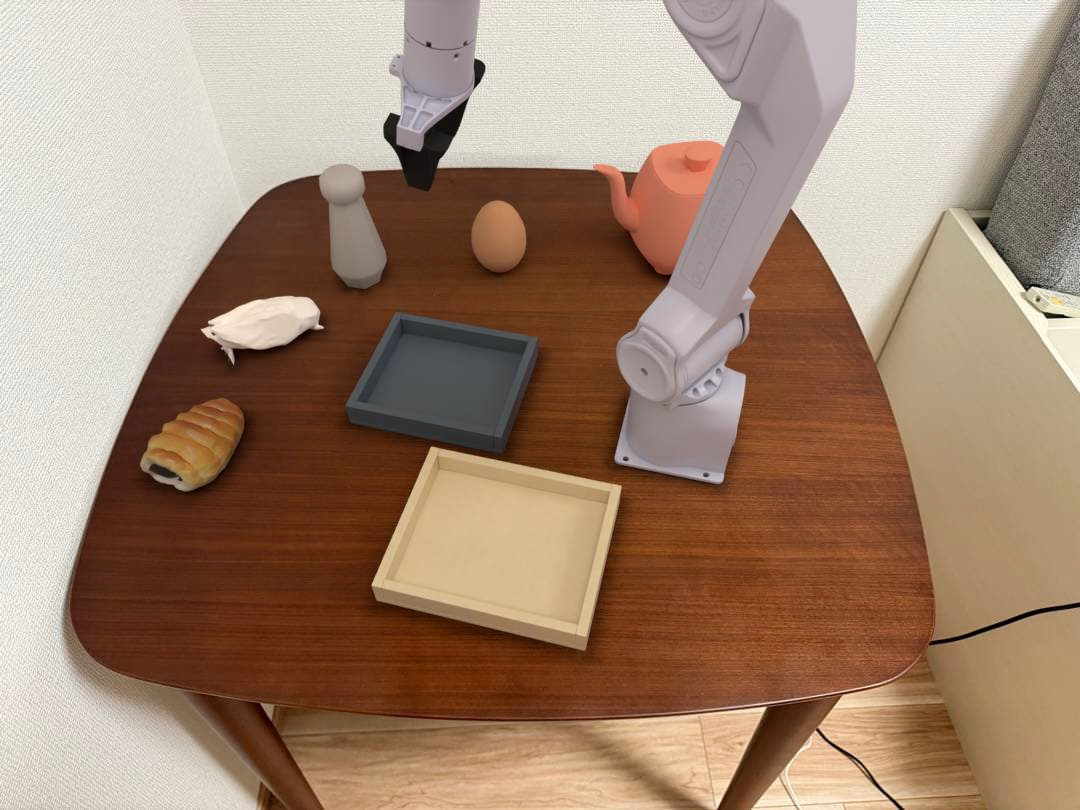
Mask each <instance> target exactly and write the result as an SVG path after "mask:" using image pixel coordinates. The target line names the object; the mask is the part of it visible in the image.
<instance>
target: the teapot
mask: <svg viewBox="0 0 1080 810" xmlns="http://www.w3.org/2000/svg"><path fill="white" fill-rule="evenodd" d="M724 147H725V146H724V145H722V144H720V143H719V142H716V141H713V140H691V141H689V140H688V141H681V142H671V143H666V144H662V145H658V146H656V147H654V148H653V149H652V150H651V151H650V153H649V154H648V155H647V157H646V159H645V160H644V162H643V164H642V166H641V167H640V168H639V171H638V173H637V174H636V176H635V179H634V181H633V184H632V187H631V190H630V194H629V196H628V194H627V190H626V182H625V177H624V175H623V173H622V172H621V170H620V169H618V168H617V167H615V166H613V165H610V164H605V163H596V164H593V165H592V168H593V169H594V170H595V171H597V172H599V174H602V176H604V177H605V178H606V179H607V181H608V183H609V188H610V200H611V201H610V202H611V208H612V212H613V215H614V217H615V219H616V221H617V222H618V224H620V226H622V227H623V228H624V229H625V230H627V231H629V233H630V236H631V238H632V240H633V242H634V244H635V246H636V247H637V249H638V250H639V252H640V253H641V255H642V257H644V258H645V260H646V261H647V262H648V264H650V265H651V266H652V267H653V269H654V271H655V272H656V273H658V274H660V275H664V276H669V275H672V273H673V271H674V268H675V266H676V264H677V261H678V259H679V256H680V254H681V251H682V249H683V246H684V244H685V242H686V239H687V237H688V234H689V232H690V229H691V227H692V225H693V222H694V220H695V217H696V215H697V212H698V210H699V207H700V205H701V203H702V200H703V198H704V195H705V193H706V190H707V188H708V186H709V183H710V181H711V178H712V176H713V173H714V171H715V169H716V166H717V164H718V161H719V159H720V156H721V154H722V151H723V149H724Z"/></svg>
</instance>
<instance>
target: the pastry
mask: <svg viewBox="0 0 1080 810" xmlns="http://www.w3.org/2000/svg"><path fill="white" fill-rule="evenodd" d="M244 431H245V417H244V412H243V411H242V410H241V409H240V407H239V406H238V405H237V404H235V403H233V402H231V401H230V400H229V399H228V398H225V397H220V398H216V399H211V400H208V401H205V402H204V403H203V402H202V403H201V404H196V405H193V406H192V407H191V408H190V410H188V411H187V412H180V413H179V414H178V415H177V417H176V418H175V419H173V420H171V421H169V422H166V423H164V424H163V426H162V428H161V432H160V433H158V434H157V433H156V434H154V435H152V436H151V437H150V439H149V440H148V442H147V449H146V451H145V452H144V453H143V455H142V457H141V460H140V463H139V466H140V468H141V471H142V472H144V473H146V474H149V475H150V476H151V477H152V478H153V479H154V480H155V481H157V482H158V483H161V484H166V485H171V486H172V485H173V486H174V488H175V489H177V490H179V491H183V492H191V491H194V490H197V489H199V488H201V487H204V486H206V485H208V484H210V483H212V482H213V481H215V480H216V479H217V478H218V476H219V475H220V473H221V472H222V471H223V470H225V469H226V467H227V465H228V464H229V462H230V461H231V458H232V456H233V455H234V453H235V450H236V449H237V446H238V445H239V443H240V440H241V439H242V436H243V433H244Z"/></svg>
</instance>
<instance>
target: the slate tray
mask: <svg viewBox="0 0 1080 810" xmlns="http://www.w3.org/2000/svg"><path fill="white" fill-rule="evenodd" d="M538 358H539V337H537V336H532V335H527V334H521V333H516V332H511V331H504V330H498V329H494V328H489V327H484V326H483V327H482V326H476V325H472V324H465V323H461V322H454V321H448V320H443V319H438V318H433V317H426V316H420V315H416V314H409V313H403V312H398V311H395V312H394V314H393V316H392V318H391V320H390V322H389V324H388V325H387V327H386V329H385V331H384V333H383V335H382V336H381V339H380V340H379V343H378V344H377V346H376V348H375V349H374V351H373V353H372V355H371V357H370V359H369V361H368V362H367V364H366V367H364V370H363V372H362V374H361V376H360V377H359V379H358V381H357V383H356V385H355V387H354V389H353V391H352V392H351V395H350V396H349V398H348V399H347V402H346V403H345V411H346V414H347V416H348V420H349V423H350V424H353V425H356V426H357V425H358V426H362V427H367V428H371V429H377V430H382V431H387V432H391V433H397V434H400V435H407V436H412V437H415V438H420V439H427V440H430V441H436V442H440V443H446V444H450V445H455V446H460V447H464V448H470V449H474V450H479V451H484V452H489V453H493V454H499V455H503V454H504V452H505V450H506V447H507V444H508V441H509V438H510V436H511V433H512V430H513V427H514V424H515V422H516V419H517V416H518V413H519V410H520V408H521V404H522V402H523V399H524V396H525V395H526V394H525V393H526V392H527V391H526V390H527V387H528V385H529V383H530V379H531V376H532V374H533V371H534V369H535V367H536V363H537V360H538Z"/></svg>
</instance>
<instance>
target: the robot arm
mask: <svg viewBox="0 0 1080 810" xmlns="http://www.w3.org/2000/svg"><path fill="white" fill-rule="evenodd" d="M662 3H663V5H664V8H665V11H666V12H667V14H668V15H669V17H670V19H671V21H672V22H673V24H674V25H675V27H676V28H677V30H678V31H679V32H680V34H681V35H682V36H683V38H684V39H685V40H686V42H687V43H688V45H689V46H690V47H691V49H692V50H693V51H694V53H695V54H696V55H697V56H698V58H699V59H700V61H701V62H702V63H703V65H704V66H705V67H706V69H707V70H708V71H709V72H710V74H711V75H712V76H713V78H714V79H715V80H716V82H717V83H718V84H719V86H720V87H721V89H722V90H723V91H724V92H725V94H726V96H727V97H728V98H729V99H730V100H732V101H737V102H740V107H739V110H738V112H737V115H736V117H735V119H734V122H733V125H732V128H731V129H730V132H729V134H728V137H727V140H726V142H725V144H724V146H723V147H724V149H723V151H722V154H721V156H720V159H719V161H718V164H717V166H716V169H715V171H714V173H713V176H712V178H711V181H710V183H709V186H708V188H707V190H706V193H705V195H704V198H703V200H702V203H701V205H700V207H699V210H698V212H697V215H696V217H695V220H694V222H693V225H692V227H691V229H690V232H689V234H688V237H687V239H686V242H685V244H684V246H683V249H682V251H681V254H680V256H679V259H678V261H677V264H676V266H675V268H674V271H673V273H672V274H671V276H670V279H669V280H668V283H667V285H666V286H665V287H664V289H663V290H662V291H661V292H660V293H659V294H658V296H657V297H656V298H655V299H654V300H653V302H652V303H651V304H650V305H649V306H648V307H647V309H646V310H645V311H644V312H643V313H642V314H641V316H640V317H639V318H638V321H637V323H636V326H635V328H634V329H633V330H631V331H629V332H627V333H626V334H624V335H622V336H621V337H620V339H619V340H618V342H617V344H616V347H615V348H616V349H615V351H616V352H615V355H616V356H615V357H616V362H617V365H618V368H619V371H620V373H621V375H622V378H623V379H624V381H625V382H626V383H627V384H628V386H629V388H630V393H629V394H630V395H629V397H628V402H627V405H626V409H625V412H624V413H625V414H624V417H623V421H622V425H621V429H620V433H619V437H618V442H617V446H616V450H615V454H614V457H613V458H614V459H613V460H614V463H615V464H617V465H619V466H624V467H625V466H626V467H630V468H635V469H639V470H644V471H649V472H655V473H659V474H665V475H670V476H675V477H680V478H684V479H689V480H696V481H699V482H704V483H709V484H715V485H721V484H722V483H723V482H724V478H725V472H726V469H727V466H728V462H729V458H730V455H731V452H732V447H733V446H734V445H735V443H736V439H737V434H738V433H737V432H738V426H739V421H740V416H741V413H742V407H743V403H744V402H743V401H744V395H745V389H746V381H747V375H746V374H745V373H743V372H740V371H737V370H734V369H733V368H730V367H728V366H726V365H725V364H726V363H727V361H728V356H729V353H730V352H731V351H732V350H734V349H736V348H738V347H739V346H741V345H742V344H743V343H744V342H745V341H746V339H747V338H748V336H749V333H750V311H751V310H750V309H751V308H752V306H753V305H752V304H753V303H754V301H755V299H756V295H755V293H754V292H753V291H752V289H750V285H751V283H752V281H753V279H754V278H755V275H756V274H757V272H758V271H759V268H760V267H761V265H762V263H763V261H764V259H765V258H766V255H767V253H768V252H769V250H770V248H771V246H772V245H773V242H774V240H775V239H776V237H777V235H778V233H779V231H780V229H781V227H782V225H783V224H784V222H785V220H786V218H787V216H788V214H789V213H790V211H791V209H792V207H793V205H794V203H795V201H796V200H797V198H798V196H799V194H800V192H801V190H802V189H803V187H804V185H805V184H806V181H807V179H808V177H809V176H810V174H811V172H812V170H813V168H814V166H815V164H816V163H817V161H818V159H819V157H820V155H821V154H822V151H823V150H824V148H825V146H826V144H827V142H828V140H830V139H829V138H830V137H831V135H832V133H833V132H834V129H835V127H836V126H837V124H838V122H839V120H840V118H841V116H842V114H843V113H844V111H845V109H846V107H847V105H848V103H849V102H850V99H851V96H852V93H853V90H854V87H855V74H856V73H855V72H856V51H857V50H856V49H857V48H856V46H857V26H858V25H857V24H858V23H857V21H858V0H662ZM403 4H404V5H403V6H404V9H403V11H404V12H403V52H402V53H403V54H400V53H399V54H395V55H394V56H393V57H392V59H391V61H390V63H389V66H388V72H389V75H391V76H393V77H397V78H398V79H399V80H400V114H397V113H394V112H389V114H388V116H387V117H386V119H385V120H384V123H383V125H382V126H383V127H382V130H383V131H382V132H383V133H382V134H383V139H384V140H385V141H386V142H387V143H388V144H389V146H390V148H392V149H393V151H394V153H395V154H396V156H397V158H398V160H399V163H400V167H401V170H402V172H403V176H404V179H405V183H406V184H407V186H408V187H409V188H414V189H417V190H420V191H423V192H427V193H428V192H429V191H430V189H431V188H432V186H433V184H434V182H435V178H436V175H437V171H438V167H439V164H440V161H441V159H442V158H443V157H444V156H445V154H446V153H447V152H448V150H449V149H450V146H451V144H452V142H453V140H454V138H455V137H456V136H457V134H458V131H459V129H460V127H461V124H462V121H463V118H464V116H465V112H466V110H467V109H466V108H467V106H468V104H469V103H468V102H469V100H470V99H471V96H472V94H473V92H474V91H475V90H476V88H477V87H478V86H479V84H481V81H482V80H483V77H484V75H485V73H486V68H487V67H486V64H485V63H484V62H483V61H482V60H480V59H478V58H475V55H476V48H477V47H476V46H477V37H478V29H479V28H478V26H479V18H480V8H481V0H404V3H403Z"/></svg>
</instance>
